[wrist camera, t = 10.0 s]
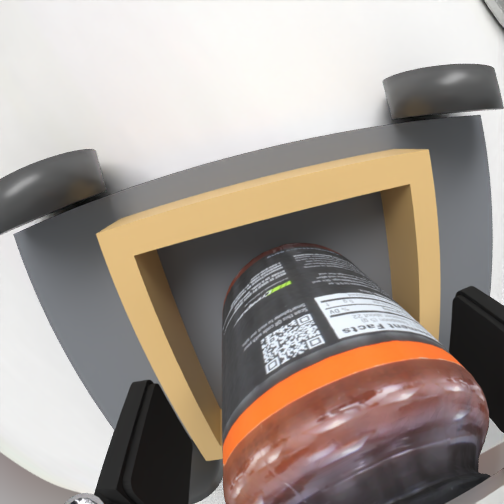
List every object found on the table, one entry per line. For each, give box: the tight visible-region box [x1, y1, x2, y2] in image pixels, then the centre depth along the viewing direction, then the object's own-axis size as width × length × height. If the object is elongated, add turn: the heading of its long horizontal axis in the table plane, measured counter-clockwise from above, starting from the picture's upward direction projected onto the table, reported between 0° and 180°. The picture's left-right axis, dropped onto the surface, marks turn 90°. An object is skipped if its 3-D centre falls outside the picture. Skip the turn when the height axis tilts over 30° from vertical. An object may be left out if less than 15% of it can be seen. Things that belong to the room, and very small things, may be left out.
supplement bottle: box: [222, 243, 491, 504], centre depth 8 cm, size 6×6×11 cm
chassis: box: [0, 64, 504, 504], centre depth 12 cm, size 22×17×5 cm
